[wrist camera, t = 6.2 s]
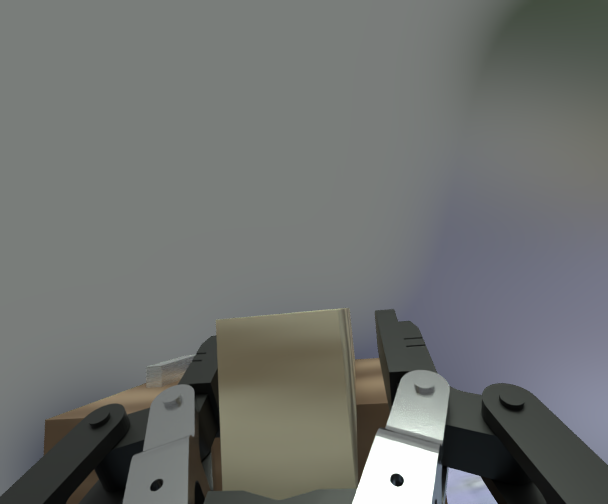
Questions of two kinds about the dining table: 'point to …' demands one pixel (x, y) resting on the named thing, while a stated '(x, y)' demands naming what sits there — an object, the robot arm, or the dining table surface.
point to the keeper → (167, 371)
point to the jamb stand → (368, 414)
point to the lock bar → (287, 403)
